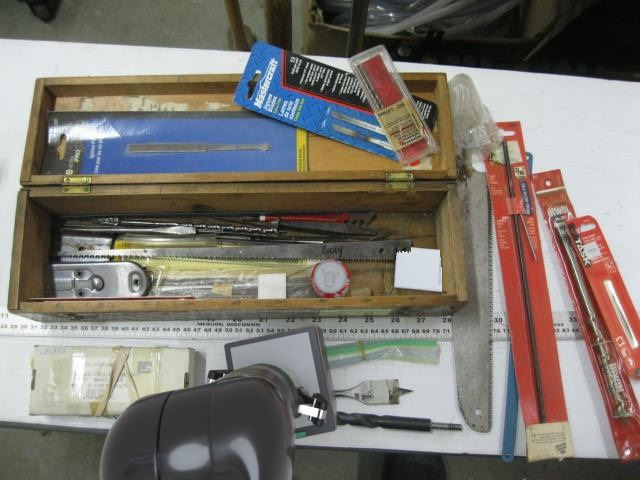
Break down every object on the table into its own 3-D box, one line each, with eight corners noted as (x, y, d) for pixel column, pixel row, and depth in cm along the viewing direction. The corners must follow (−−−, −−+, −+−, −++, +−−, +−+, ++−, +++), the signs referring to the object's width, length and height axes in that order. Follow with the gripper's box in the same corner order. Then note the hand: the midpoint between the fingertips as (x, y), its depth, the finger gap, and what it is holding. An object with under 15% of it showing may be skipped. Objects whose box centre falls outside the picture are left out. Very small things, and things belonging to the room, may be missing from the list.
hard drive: (395, 247, 91) (458, 253, 90) (393, 287, 89) (456, 294, 88) (396, 245, 89) (460, 251, 89) (394, 286, 88) (459, 293, 87)
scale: (335, 427, 60) (335, 432, 58) (242, 447, 60) (238, 452, 58) (315, 326, 63) (314, 325, 61) (227, 344, 63) (222, 345, 61)
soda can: (351, 269, 90) (353, 259, 78) (346, 305, 89) (347, 299, 77) (315, 264, 91) (312, 253, 79) (310, 300, 89) (306, 294, 77)
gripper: (168, 427, 42) (215, 403, 58) (318, 471, 41) (323, 433, 57) (193, 347, 43) (232, 345, 60) (338, 386, 42) (337, 373, 59)
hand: (276, 388), depth 58 cm, fingers closed on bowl, 5 cm apart
